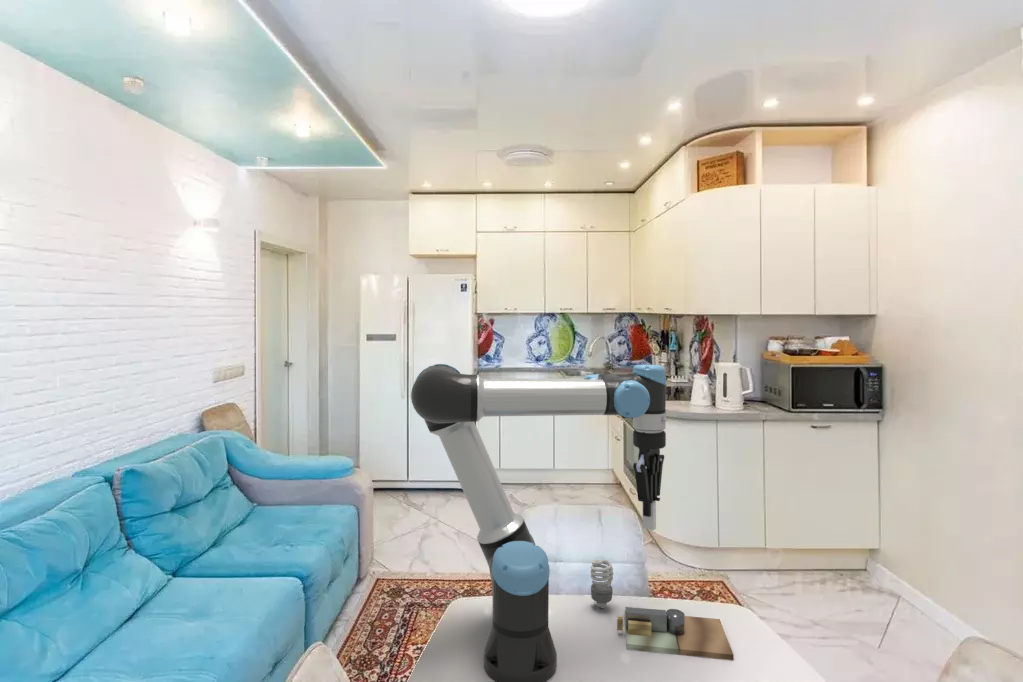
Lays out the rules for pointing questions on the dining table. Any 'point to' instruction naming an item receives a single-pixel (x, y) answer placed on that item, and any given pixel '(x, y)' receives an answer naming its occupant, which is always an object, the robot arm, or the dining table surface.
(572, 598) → the dining table surface
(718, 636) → the door board
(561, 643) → the dining table surface
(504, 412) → the robot arm
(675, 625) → the bar
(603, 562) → the light bulb
